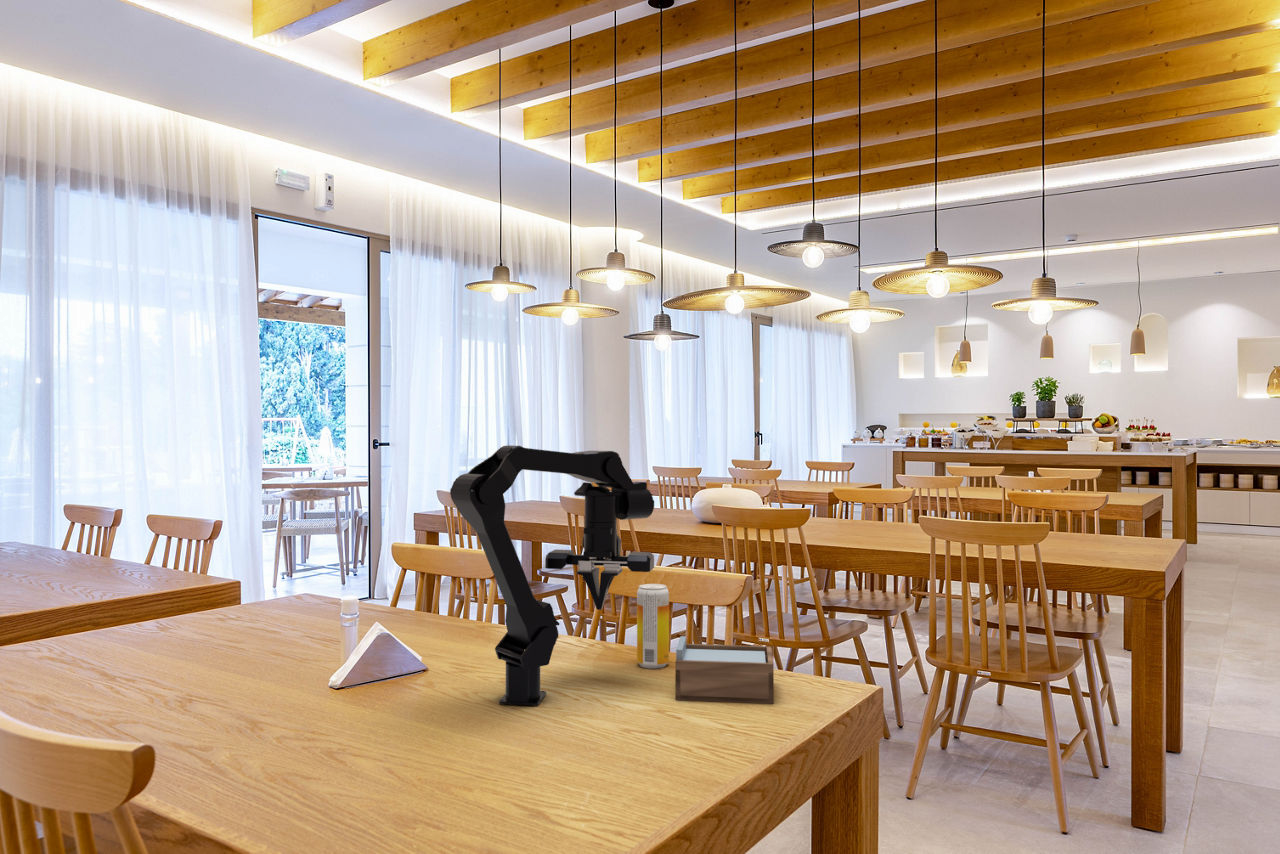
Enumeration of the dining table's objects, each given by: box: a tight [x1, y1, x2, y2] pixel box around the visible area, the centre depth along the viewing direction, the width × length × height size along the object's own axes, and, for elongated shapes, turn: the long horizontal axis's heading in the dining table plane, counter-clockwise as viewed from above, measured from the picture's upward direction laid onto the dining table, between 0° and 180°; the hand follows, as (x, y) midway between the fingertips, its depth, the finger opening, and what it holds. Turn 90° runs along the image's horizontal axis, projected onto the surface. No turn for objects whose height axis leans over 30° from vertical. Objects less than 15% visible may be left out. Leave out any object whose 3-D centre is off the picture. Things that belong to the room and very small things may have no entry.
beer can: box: [636, 583, 670, 670], centre depth 161 cm, size 6×6×15 cm
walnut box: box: [674, 643, 775, 705], centre depth 144 cm, size 12×16×6 cm
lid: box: [675, 635, 766, 663], centre depth 145 cm, size 10×15×3 cm, turn 83°
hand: (599, 609), depth 150 cm, fingers closed
